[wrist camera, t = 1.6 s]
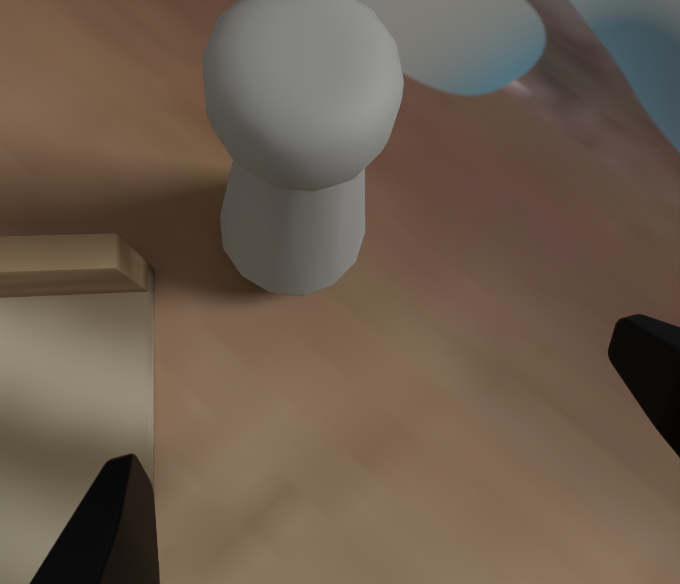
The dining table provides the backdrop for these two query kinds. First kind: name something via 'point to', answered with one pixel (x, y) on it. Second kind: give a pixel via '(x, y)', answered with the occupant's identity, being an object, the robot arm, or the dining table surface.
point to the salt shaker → (299, 133)
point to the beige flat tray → (68, 381)
